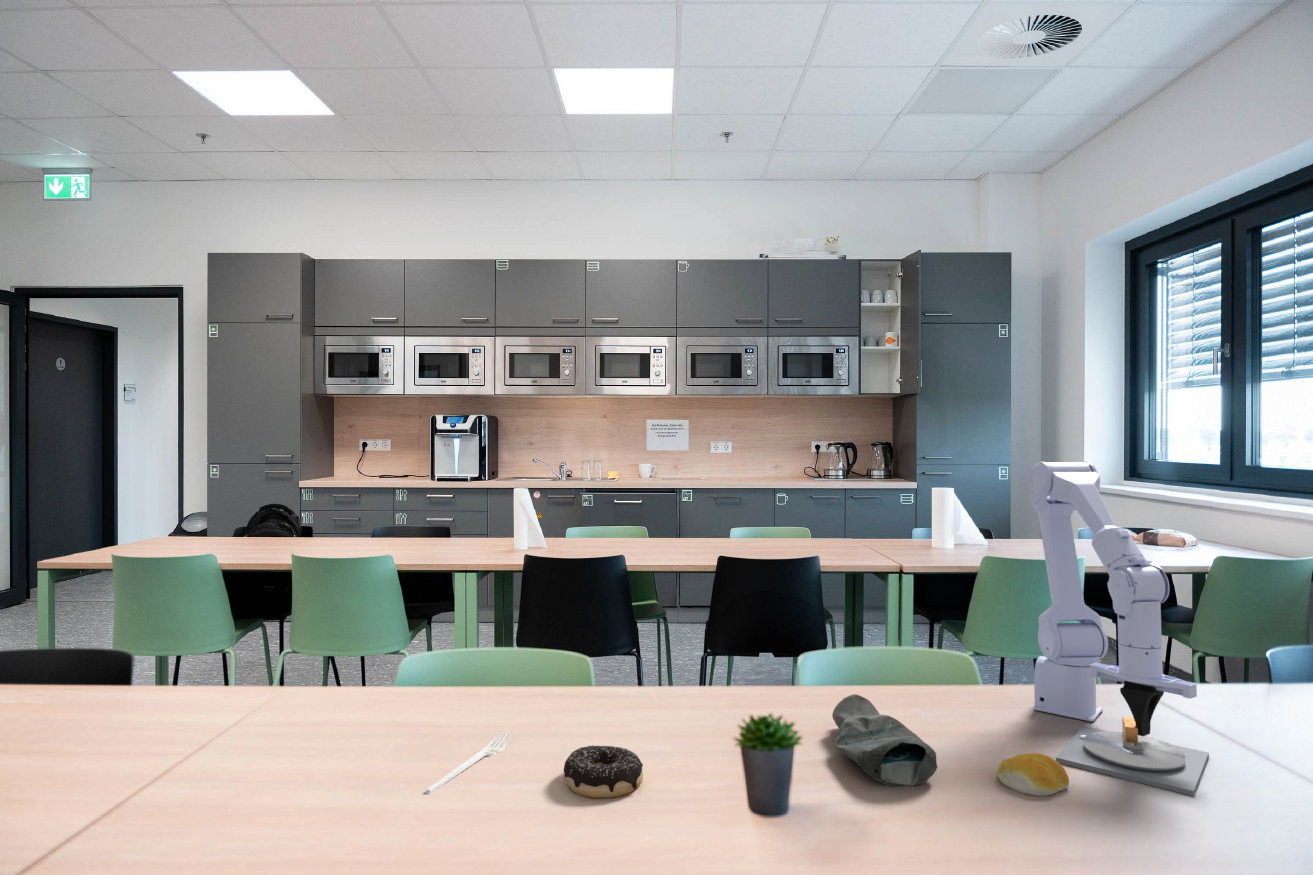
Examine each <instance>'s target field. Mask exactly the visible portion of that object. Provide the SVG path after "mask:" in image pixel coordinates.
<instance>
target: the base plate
mask: <svg viewBox="0 0 1313 875" xmlns="http://www.w3.org/2000/svg"><path fill="white" fill-rule="evenodd" d="M1105 731H1107V730H1105V729H1101V728H1096V727H1092V726H1091V727H1090V726H1087V725H1083V726H1082V727H1080V729H1079V730H1078V731H1077V732H1076V733H1075V734H1074V736H1072V738H1071V739H1070V740H1069V742H1067V743H1066V745H1065V746H1064V747H1063V748H1062V750H1061V751H1060V752H1059V753H1058V754H1057V755H1056V756H1055V760H1056V761H1057V762H1058V763H1060V764H1061V765H1066V766H1071V767H1074V768H1078V769H1082V770H1086V771H1091V772H1094V773H1099V774H1104V775H1106V776H1110V777H1115V778H1118V779H1123V780H1126V781H1131V782H1134V783H1135V782H1136V783H1139V784H1143V785H1147V786H1150V787H1151V786H1152V787H1156V788H1158V789H1159V788H1160V789H1164V790H1168V791H1172V792H1176V793H1179V794H1184V795H1188V796H1193V797H1194V796H1195V794H1196V791H1197V790H1198V786H1199V784H1200V781H1201V779H1202V776H1203V774H1204V771H1205V768H1206V766H1207V763H1208V761H1209V759H1210V753H1209V752H1210V751H1209V752H1207V751H1203V750H1198V749H1195V748H1190V747H1189V748H1188V747H1186V746H1185V747H1184V746H1180V745H1175V744H1171V743H1169V744H1170V745H1172V746H1174V747H1176V748H1178V749H1179V750H1181V751H1182V752H1183V753H1184V755H1185V765H1184V767H1182V768H1180V769H1177V770H1173V771H1146V770H1139V769H1133V768H1128V767H1123V766H1120V765H1116V764H1113V763H1110V762H1107V761H1104V760H1102V759H1099V758H1097V757H1095V756H1093V755H1092V754H1090V753H1089V752H1088V751H1087V750H1086V749H1085V748H1084V746H1083V739H1084V737H1085V736H1086V735H1088V734H1090V733H1095V732H1105Z"/></svg>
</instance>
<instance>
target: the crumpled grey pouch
mask: <svg viewBox="0 0 1313 875" xmlns="http://www.w3.org/2000/svg"><path fill="white" fill-rule="evenodd" d="M831 717H832V719H833V722H834V723H835V725H836V726H837V729H838V730H837V732H836V735H835V742H834V746H835V748H836V749H837V750H838V751H839V752H841V753H842V754H843V755H845V756H847V758H850V759H851V760H853V761H854V762H855V763H857V765H858V766H859V767H860V768H861V769H863V771H864V772H865V773H866V774H868V775H869V776H870V777H871V778H873V779H874V780H875V781H877V782H879V783H880V784H884V785H885V786H890V787H906V786H908V785H909V786H911V785H912V786H916V785H920V784H924V783H925V782H927V781H928V780H929V779H930V778H932V776H933V775H935V773H936V771H937V769H938V768H939V767H938V764H937V752H936V751H935V750H934V749H933V748H932V747H931V746H930V745H929V744H928V743H926V742H925V741H924V740H922V739H921V737H919V736H918V735H917V734H916V733H915V732H913V731H912V730H911V729H909V728H908V727H907V726H906V725H904V724H903V723H902V722H901V721H899V719H896V718H894V717H892V716H891V715H887V714H880V713H879V711H878V710H877V708H876V707H875V705H874V704H873V703H872V702H871V701H870V700H869V699H867V698H866V697H864V696H862V695H859V694H856V693H854V694H851V695H848V696H846V697H843V698H842V700H840V701H839V702H838V703H837V705H836V706H835V707H834V709H833V711H832V716H831Z"/></svg>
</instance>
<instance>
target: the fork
mask: <svg viewBox="0 0 1313 875" xmlns="http://www.w3.org/2000/svg"><path fill="white" fill-rule="evenodd" d="M507 734H508V731H506V732H505V734H504V731H501V730H498V731H497V733H496V734H495V735H494V737H493V738H492V739H491V740H490V742H489V743H487V745H485V746H484V747H483V748H482V749H480V750H478V752H476V753H474V755H472V756H471V757H469V758H468V759H466V760H465V761H463V762H462V763H460V765H458V766H457V767H455V768H454V769H453V770H451V771H450V772H449V773H447V774H445V775H444V776H443V777H442V778H440V779H439V780H437V781H436V782H434V783H433V784H432V785H431V786H429V787H428V788H426V790H425V794H427V795H430V794H432V793H434V792H435V791H437V790H438V789H439V788H441V787H442V786H443V785H445V784H446V783H448V782H449V781H451V780H452V779H453V778H455V777H456V776H458V775H459V774H461V773H462V772H464V771H465V770H466V769H468V768H470V767H471V766H472V765H474V764H476V763H477V762H478V761H479V760H481V759H483V758H484V757H486V756H489V757H491V756H492V757H493V756H494V755H497V754H498V752H502V751H503V750H504V749H506V747H507V746H508V744H509V742H510V740H511V737H512V735H513V734H512V732H510V733H509V735H508V737H507ZM503 735H504V736H503ZM506 737H507V738H506ZM495 751H498V752H495Z"/></svg>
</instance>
